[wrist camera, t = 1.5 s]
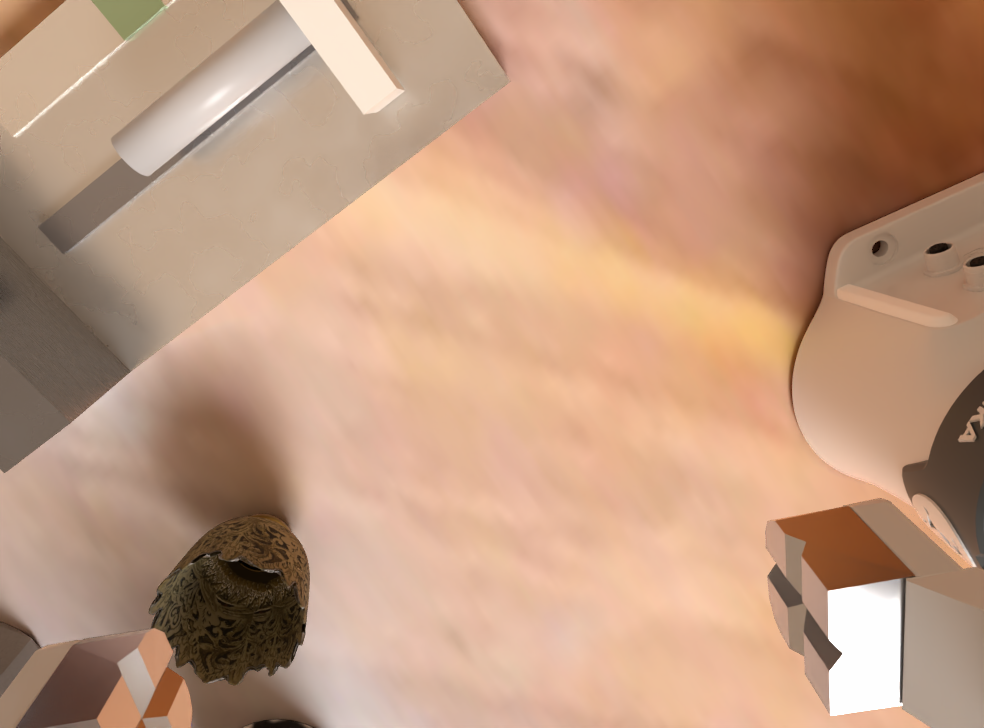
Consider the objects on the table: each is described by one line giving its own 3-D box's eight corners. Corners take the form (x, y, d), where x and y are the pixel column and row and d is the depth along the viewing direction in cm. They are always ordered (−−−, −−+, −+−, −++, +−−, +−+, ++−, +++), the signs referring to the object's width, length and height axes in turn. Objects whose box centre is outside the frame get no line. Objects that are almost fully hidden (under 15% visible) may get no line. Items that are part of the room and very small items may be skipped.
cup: (220, 598, 45) (174, 699, 37) (183, 492, 42) (125, 576, 35) (342, 576, 45) (321, 672, 37) (311, 469, 42) (282, 548, 35)
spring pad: (231, -154, 30) (182, -212, 25) (405, 90, 34) (396, 88, 28) (40, 14, 32) (-47, -4, 26) (225, 231, 35) (183, 255, 30)
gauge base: (320, -202, 32) (281, -296, 24) (508, 82, 36) (524, 77, 29) (-128, 190, 36) (-280, 213, 29) (87, 403, 40) (4, 473, 33)
